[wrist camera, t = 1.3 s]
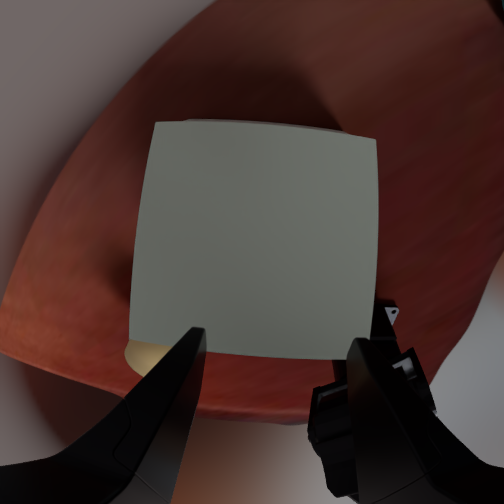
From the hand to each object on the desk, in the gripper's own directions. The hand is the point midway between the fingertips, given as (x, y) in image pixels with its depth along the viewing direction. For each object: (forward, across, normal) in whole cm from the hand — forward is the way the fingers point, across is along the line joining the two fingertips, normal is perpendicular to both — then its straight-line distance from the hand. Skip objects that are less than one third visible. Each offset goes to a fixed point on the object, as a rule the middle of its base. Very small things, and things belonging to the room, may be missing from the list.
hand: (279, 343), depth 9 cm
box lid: (+5, +1, -1) cm, 6 cm away
